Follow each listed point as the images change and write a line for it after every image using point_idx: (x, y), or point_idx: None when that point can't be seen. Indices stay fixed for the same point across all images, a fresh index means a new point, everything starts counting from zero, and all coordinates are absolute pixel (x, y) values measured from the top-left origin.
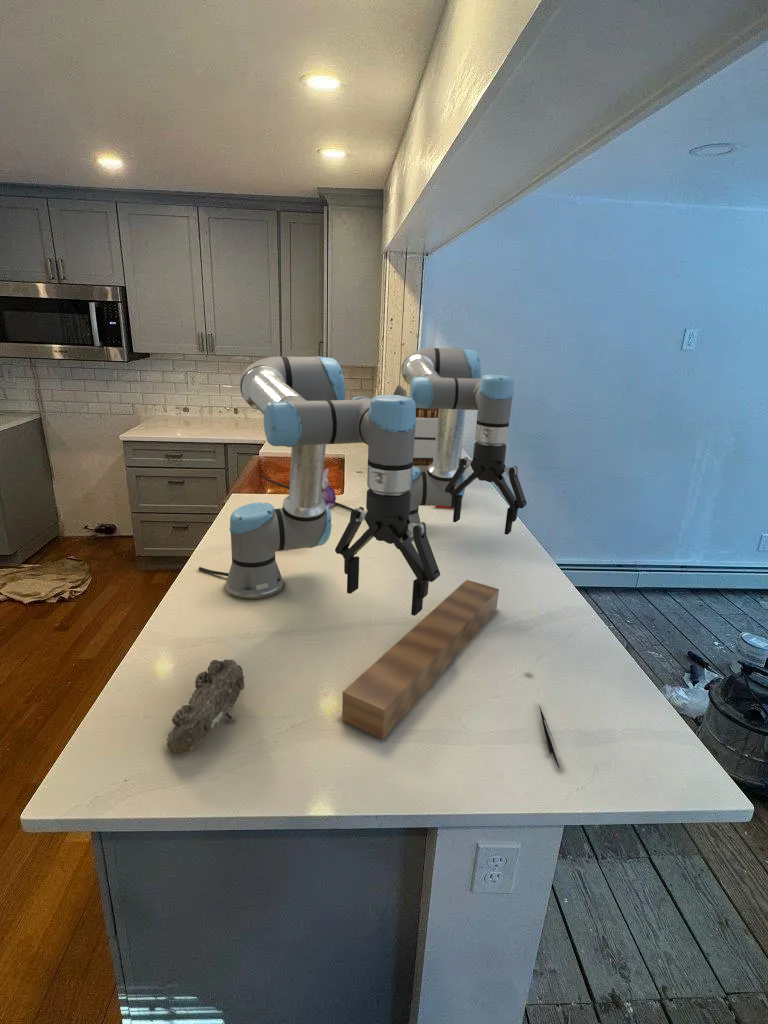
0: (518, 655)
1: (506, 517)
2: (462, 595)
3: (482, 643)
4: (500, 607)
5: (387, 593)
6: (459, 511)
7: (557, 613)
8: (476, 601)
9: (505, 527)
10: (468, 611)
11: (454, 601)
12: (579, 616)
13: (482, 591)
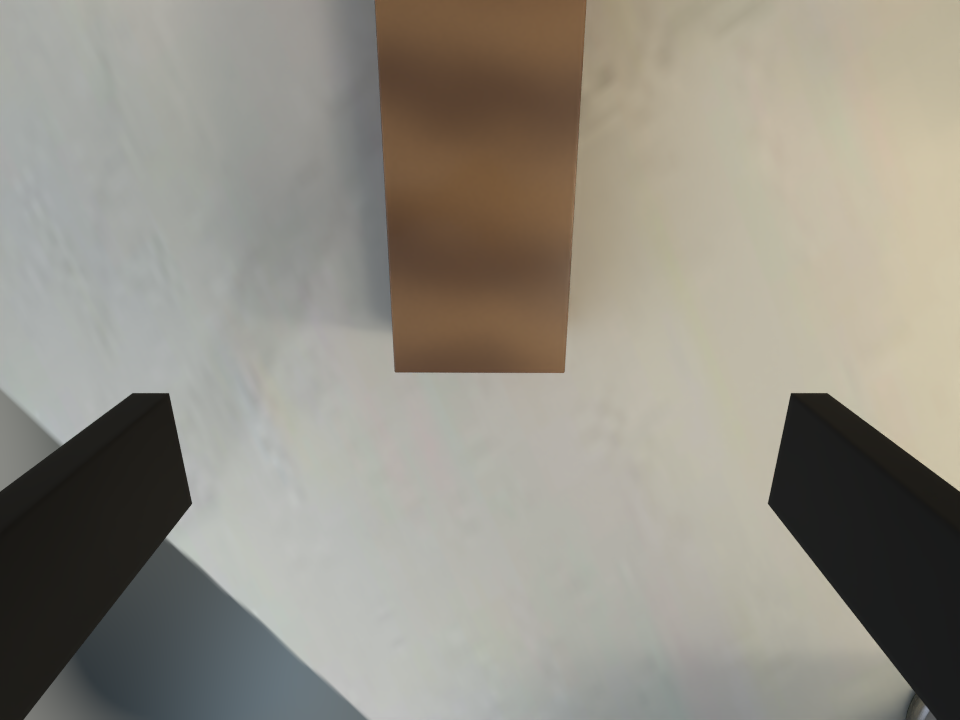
0: (178, 41)
1: (11, 520)
2: (517, 200)
3: (341, 38)
4: None
5: (886, 195)
6: (836, 542)
7: (213, 449)
8: (430, 181)
9: (117, 435)
10: (419, 45)
11: (527, 107)
12: None
13: (449, 301)
